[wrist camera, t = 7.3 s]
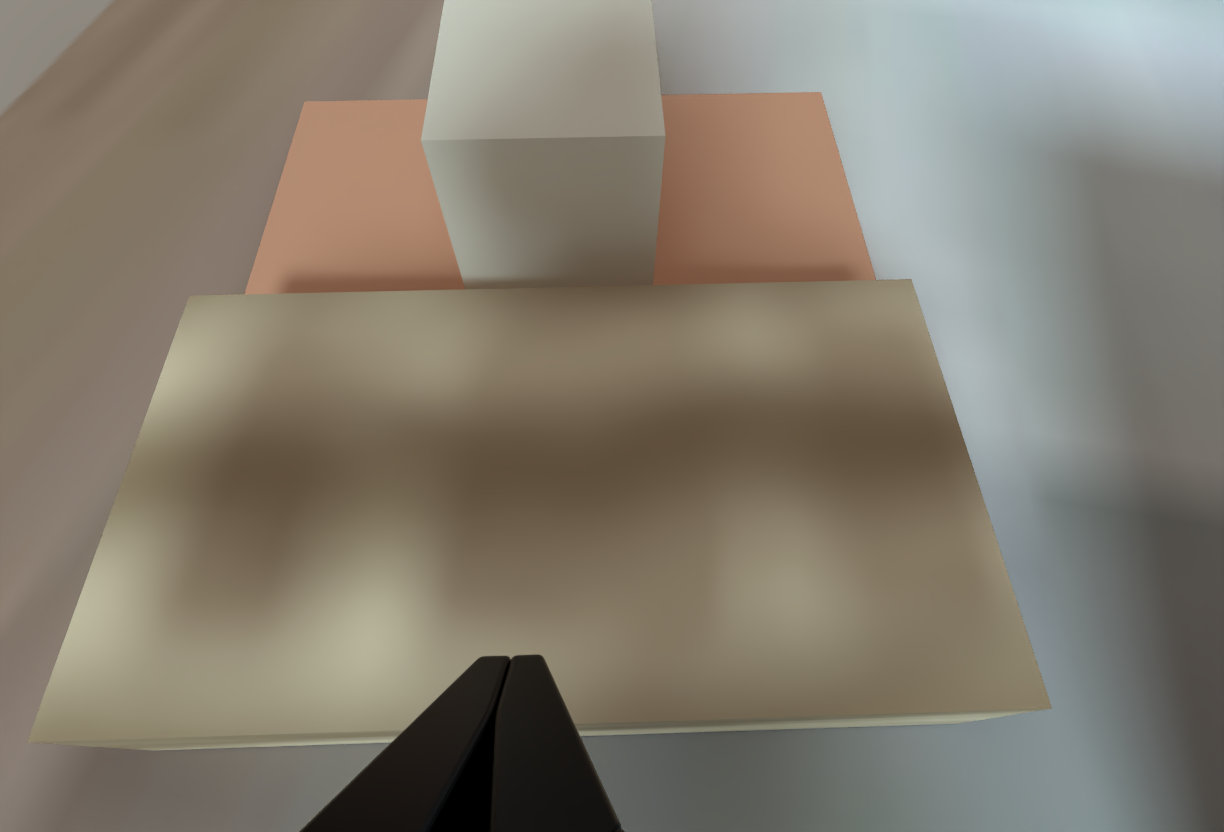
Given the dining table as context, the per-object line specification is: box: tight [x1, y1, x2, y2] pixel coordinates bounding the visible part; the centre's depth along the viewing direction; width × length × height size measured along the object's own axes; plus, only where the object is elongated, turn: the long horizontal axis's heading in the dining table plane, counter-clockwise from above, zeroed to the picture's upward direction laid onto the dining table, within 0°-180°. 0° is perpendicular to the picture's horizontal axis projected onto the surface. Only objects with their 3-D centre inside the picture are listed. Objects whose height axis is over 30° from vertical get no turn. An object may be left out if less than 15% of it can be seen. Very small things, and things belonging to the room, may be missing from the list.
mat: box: [245, 92, 876, 294], centre depth 25 cm, size 13×22×1 cm, turn 92°
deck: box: [27, 279, 1052, 750], centre depth 17 cm, size 11×20×4 cm, turn 92°
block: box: [421, 0, 665, 289], centre depth 21 cm, size 7×6×8 cm
